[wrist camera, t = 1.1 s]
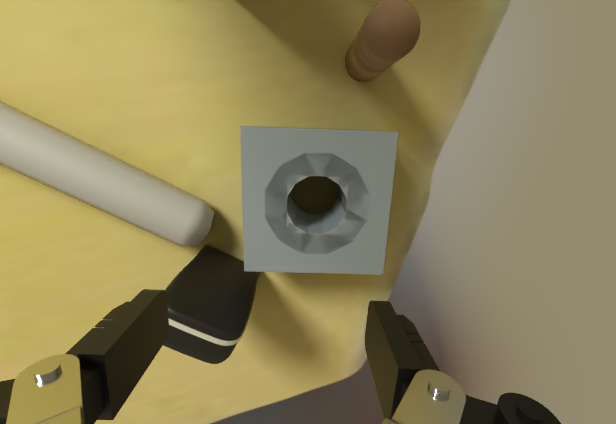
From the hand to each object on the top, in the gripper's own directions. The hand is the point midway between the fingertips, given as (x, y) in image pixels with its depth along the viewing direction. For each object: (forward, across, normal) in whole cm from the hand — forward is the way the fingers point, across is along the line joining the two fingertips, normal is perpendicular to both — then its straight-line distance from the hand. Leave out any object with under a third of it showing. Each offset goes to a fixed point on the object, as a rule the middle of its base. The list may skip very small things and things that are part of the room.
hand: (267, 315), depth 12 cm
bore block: (+19, -2, -1) cm, 19 cm away
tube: (+20, +19, -2) cm, 27 cm away
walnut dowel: (+19, -6, -13) cm, 24 cm away
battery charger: (+20, +6, +8) cm, 22 cm away
